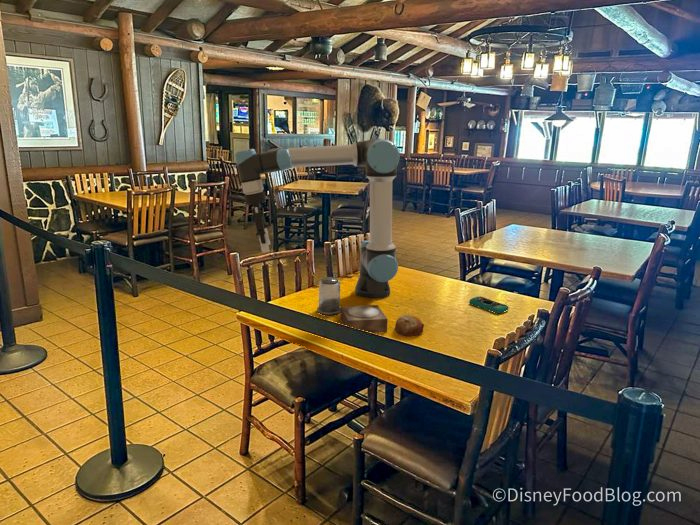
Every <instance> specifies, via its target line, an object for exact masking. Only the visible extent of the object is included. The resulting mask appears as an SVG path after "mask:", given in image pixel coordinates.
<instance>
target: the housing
mask: <svg viewBox="0 0 700 525" xmlns="http://www.w3.org/2000/svg"><path fill="white" fill-rule="evenodd" d="M318 281H319V282H318V306H317V307H316V313H317V312H318V313H320V314H322V315H321V316H323V315H325V316H324V317H335V315H336V316H338V314H339V315H341V306H340V305H341V304H340V302H341V281H340V280H339V278H337V277H333V276H326V277H321V279H320V280H318ZM318 313H317V314H318ZM320 314H319V315H320Z"/></svg>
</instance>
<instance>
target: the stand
mask: <svg viewBox="0 0 700 525" xmlns="http://www.w3.org/2000/svg"><path fill="white" fill-rule="evenodd" d="M340 308H341V313H340V314H339V315H340V316H339V318H340V321H341V323H343V324H344V325H347V326H349V327H353V328H356V329H360V330H364V331H368V332H372V333H371V334H375V332H377V333H376V334H379V332H384V333H387V332H388V317H387V316H386V315H385V313H384V311H383V310H382V309H381V307H380V305H378V304H373V305H372V304H370V305H368V304H366V305H343V306H340ZM343 324H342V325H343Z"/></svg>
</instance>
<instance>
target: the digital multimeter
mask: <svg viewBox="0 0 700 525" xmlns="http://www.w3.org/2000/svg"><path fill="white" fill-rule="evenodd" d="M469 303H470V304H473V305H476V306H479V307H481V308H480V309H482V308H485V309H487V310H490V311H493V312H495V313H501V312H504V311H506V310H508V311H509V306H508V305H507V304H504V303H501V302H498V301H496V300H495V301H494V300H492V299H489V298H487V297H484V296H475V297H471V298H470V299H469ZM470 304H469V305H470ZM473 305H472V306H473ZM476 306H475V307H476ZM479 307H478V308H479ZM487 310H486V311H487ZM490 311H489V312H490ZM495 313H494V314H495ZM504 313H505V312H504ZM501 314H502V313H501Z"/></svg>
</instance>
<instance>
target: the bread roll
mask: <svg viewBox="0 0 700 525" xmlns="http://www.w3.org/2000/svg"><path fill="white" fill-rule="evenodd" d="M395 321H396V322H395V324H394V325H395V327H394V328H393V331H395V332H396V334H398V336H401V337H405V338H411V337H413V336H414V337H418V336H420V335H422V334H423V332H424V327H425V325H424V323H423V321H422V320H421V319H420V318H418V317H416V316H415V315H411V314H406V313H405V314H402V315H401V316H399V317H398V318H397V319H396V320H395ZM414 337H413V338H414Z"/></svg>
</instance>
